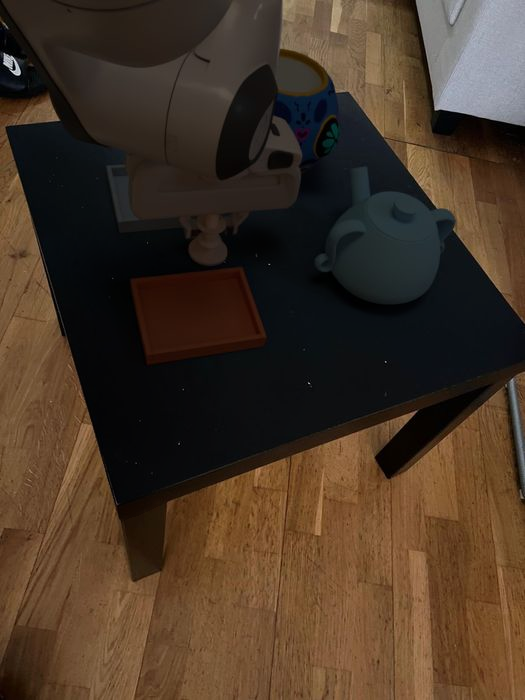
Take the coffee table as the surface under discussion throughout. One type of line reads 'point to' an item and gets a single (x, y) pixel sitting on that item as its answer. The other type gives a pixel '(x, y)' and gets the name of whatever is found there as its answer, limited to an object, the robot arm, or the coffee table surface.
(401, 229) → the teapot
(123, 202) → the gray tray
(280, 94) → the ceramic pot
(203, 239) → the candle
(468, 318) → the coffee table surface
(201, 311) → the terracotta tray
